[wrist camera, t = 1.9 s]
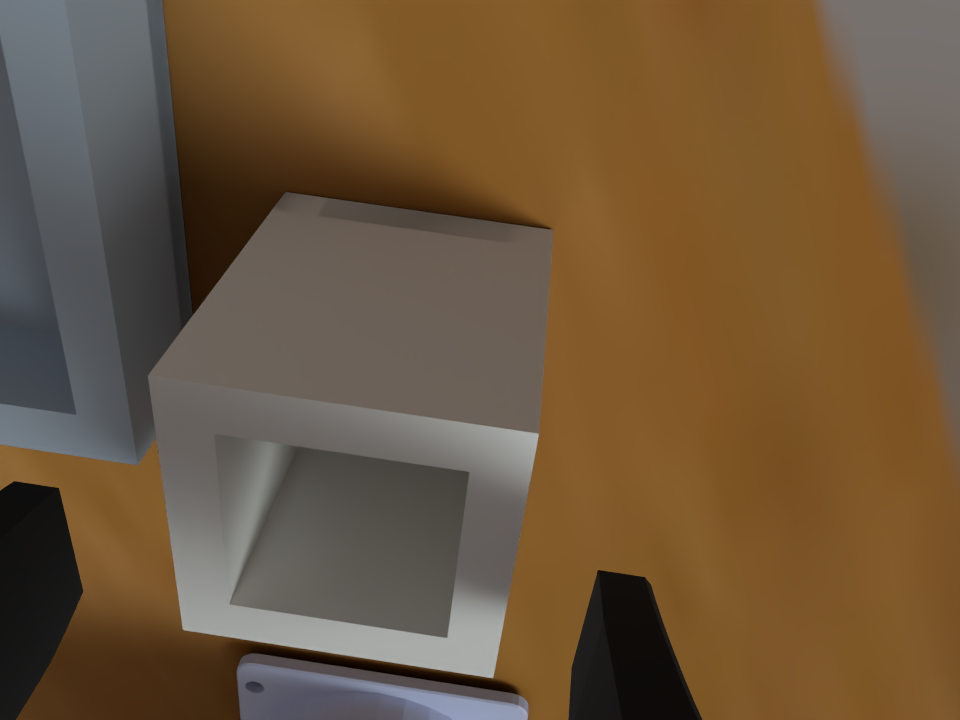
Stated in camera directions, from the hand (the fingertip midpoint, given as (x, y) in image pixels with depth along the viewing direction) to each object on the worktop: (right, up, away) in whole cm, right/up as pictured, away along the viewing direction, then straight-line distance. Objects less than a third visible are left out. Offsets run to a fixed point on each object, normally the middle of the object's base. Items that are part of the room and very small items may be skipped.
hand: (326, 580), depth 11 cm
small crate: (+1, +4, +6) cm, 7 cm away
